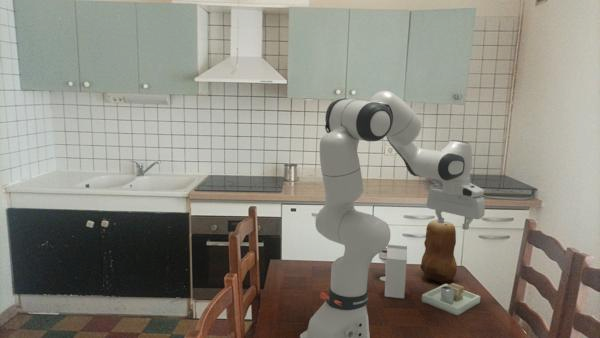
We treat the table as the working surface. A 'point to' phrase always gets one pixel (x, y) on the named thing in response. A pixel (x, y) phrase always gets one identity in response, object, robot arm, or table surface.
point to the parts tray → (456, 307)
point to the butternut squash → (439, 251)
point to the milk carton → (395, 271)
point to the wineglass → (383, 260)
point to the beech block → (457, 291)
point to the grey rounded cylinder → (447, 295)
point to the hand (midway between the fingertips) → (452, 225)
